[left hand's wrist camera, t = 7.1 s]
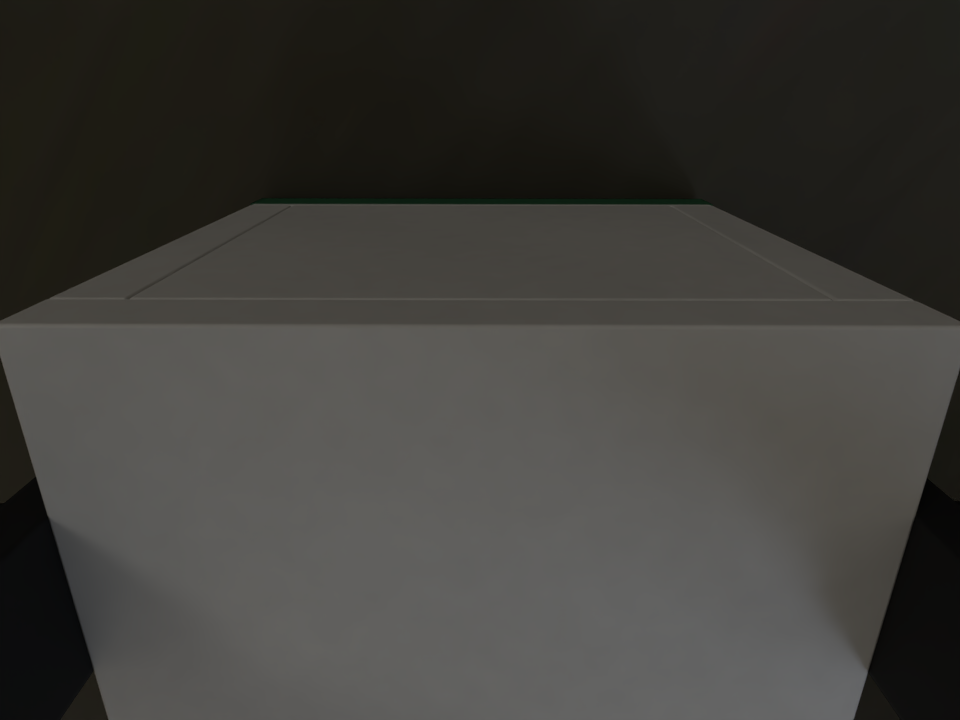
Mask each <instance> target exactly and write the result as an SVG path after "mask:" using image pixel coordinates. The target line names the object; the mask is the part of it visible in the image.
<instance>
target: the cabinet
mask: <svg viewBox="0 0 960 720" xmlns="http://www.w3.org/2000/svg"><path fill="white" fill-rule="evenodd" d="M0 357H1V361H2V364H3V367H4V371H5V374H6V377H7V381H8V384H9V387H10V391H11V394H12V398H13V401H14V404H15V408H16V411H17V414H18V418H19V421H20V424H21V428H22V431H23V434H24V438H25V441H26V445H27V448H28V451H29V455H30V458H31V461H32V465H33V468H34V471H35V475H36V478H37V482H38V485H39V488H40V492H41V495H42V498H43V502H44V505H45V508H46V512H47V515H48V518H49V522H50V525H51V529H52V532H53V535H54V539H55V542H56V545H57V549H58V552H59V555H60V559H61V562H62V565H63V569H64V572H65V576H66V579H67V582H68V586H69V589H70V592H71V596H72V599H73V602H74V606H75V609H76V613H77V616H78V619H79V623H80V626H81V629H82V633H83V636H84V639H85V643H86V646H87V649H88V653H89V656H90V660H91V663H92V666H93V670H94V673H95V676H96V680H97V683H98V686H99V690H100V693H101V696H102V700H103V703H104V707H105V710H106V713H107V717H108V720H854V717H855V714H856V710H857V707H858V704H859V700H860V697H861V694H862V690H863V687H864V684H865V681H866V677H867V674H868V671H869V667H870V664H871V661H872V657H873V654H874V651H875V647H876V644H877V641H878V638H879V634H880V631H881V628H882V624H883V621H884V618H885V614H886V611H887V608H888V604H889V601H890V598H891V595H892V591H893V588H894V585H895V581H896V578H897V575H898V571H899V568H900V565H901V562H902V558H903V555H904V552H905V548H906V545H907V542H908V538H909V535H910V532H911V528H912V525H913V522H914V519H915V515H916V512H917V509H918V505H919V502H920V499H921V495H922V492H923V489H924V486H925V482H926V479H927V476H928V472H929V469H930V466H931V462H932V459H933V456H934V452H935V449H936V446H937V443H938V439H939V436H940V433H941V429H942V426H943V423H944V419H945V416H946V413H947V409H948V406H949V403H950V400H951V396H952V393H953V390H954V386H955V383H956V380H957V376H958V373H959V370H960V321H958V320H956V319H954V318H952V317H949V316H947V315H945V314H943V313H941V312H939V311H937V310H934V309H932V308H930V307H928V306H926V305H924V304H922V303H919V302H917V301H914V300H913V299H910V298H908V297H906V296H904V295H902V294H900V293H898V292H895V291H893V290H891V289H889V288H887V287H885V286H883V285H881V284H878V283H876V282H874V281H872V280H870V279H868V278H866V277H863V276H861V275H859V274H857V273H855V272H853V271H851V270H848V269H846V268H844V267H842V266H840V265H838V264H836V263H834V262H831V261H829V260H827V259H825V258H823V257H821V256H819V255H816V254H814V253H812V252H810V251H808V250H806V249H804V248H801V247H799V246H797V245H795V244H793V243H791V242H789V241H787V240H784V239H782V238H780V237H778V236H776V235H774V234H772V233H769V232H767V231H765V230H763V229H761V228H759V227H757V226H754V225H752V224H750V223H748V222H746V221H744V220H742V219H740V218H737V217H735V216H733V215H731V214H729V213H727V212H725V211H722V210H720V209H718V208H716V207H714V206H713V204H711V203H709V202H706V201H704V200H702V199H340V198H262V199H260V200H258V201H256V202H253V203H251V205H250V206H248V207H246V208H243V209H241V210H239V211H237V212H235V213H233V214H231V215H228V216H226V217H224V218H222V219H220V220H218V221H215V222H213V223H211V224H209V225H207V226H205V227H202V228H200V229H198V230H196V231H194V232H192V233H189V234H187V235H185V236H183V237H181V238H179V239H176V240H174V241H172V242H170V243H168V244H166V245H164V246H161V247H159V248H157V249H155V250H153V251H151V252H148V253H146V254H144V255H142V256H140V257H138V258H135V259H133V260H131V261H129V262H127V263H125V264H122V265H120V266H118V267H116V268H114V269H112V270H109V271H107V272H105V273H103V274H101V275H99V276H96V277H94V278H92V279H90V280H88V281H86V282H84V283H81V284H79V285H77V286H75V287H73V288H71V289H68V290H66V291H64V292H62V293H60V294H58V295H55V296H53V297H51V298H50V299H47V300H44V301H42V302H40V303H38V304H36V305H33V306H31V307H29V308H27V309H25V310H23V311H20V312H18V313H16V314H14V315H12V316H10V317H8V318H5V319H3V320H1V321H0Z"/></svg>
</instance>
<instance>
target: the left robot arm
mask: <svg viewBox="0 0 960 720" xmlns="http://www.w3.org/2000/svg"><path fill="white" fill-rule="evenodd" d="M93 671H94V670H93V666H92V663H91V660H90V656H89V653H88V649H87V646H86V643H85V639H84V636H83V633H82V629H81V626H80V623H79V619H78V616H77V613H76V609H75V606H74V602H73V599H72V596H71V592H70V589H69V586H68V582H67V579H66V576H65V572H64V569H63V565H62V562H61V559H60V555H59V552H58V549H57V545H56V542H55V539H54V535H53V532H52V529H51V525H50V522H49V518H48V515H47V512H46V508H45V505H44V502H43V498H42V495H41V492H40V488H39V485H38V482H37V478H36V477H35V478H34V479H33V480H31V481H30V482H29V483H28V484H27V485H26V486H24V487H23V488H22V489H21V490H20V491H18V492H17V493H16V494H15V495H14V496H12V497H11V498H10V499H9V500H8V501H6V502H5V503H0V720H60V719H61V718H62V716H63V715H64V713H65V712H66V710H67V709H68V707H69V706H70V705H71V703H72V702H73V700H74V699H75V697H76V696H77V694H78V693H79V691H80V690H81V688H82V687H83V685H84V684H85V683H86V681H87V680H88V678H89V677H90V675H91V674H92V672H93ZM868 673H869V674H870V676H871V677H872V678H873V680H874V681H875V683H876V684H877V686H878V687H879V689H880V690H881V692H882V693H883V695H884V696H885V697H886V699H887V700H888V702H889V703H890V705H891V706H892V708H893V709H894V711H895V712H896V714H897V715H898V717H899V718H900V719H901V720H960V501H953V500H952V499H951V498H950V497H949V496H947V495H946V494H945V493H944V492H943V491H941V490H940V489H939V488H938V487H937V486H935V485H934V484H933V483H932V482H931V481H929V480H928V479H926V482H925V486H924V489H923V492H922V495H921V499H920V502H919V505H918V509H917V512H916V515H915V519H914V522H913V525H912V528H911V532H910V535H909V538H908V542H907V545H906V548H905V552H904V555H903V558H902V562H901V565H900V568H899V571H898V575H897V578H896V581H895V585H894V588H893V591H892V595H891V598H890V601H889V604H888V608H887V611H886V614H885V618H884V621H883V624H882V628H881V631H880V634H879V638H878V641H877V644H876V647H875V651H874V654H873V657H872V661H871V664H870V667H869V671H868Z"/></svg>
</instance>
